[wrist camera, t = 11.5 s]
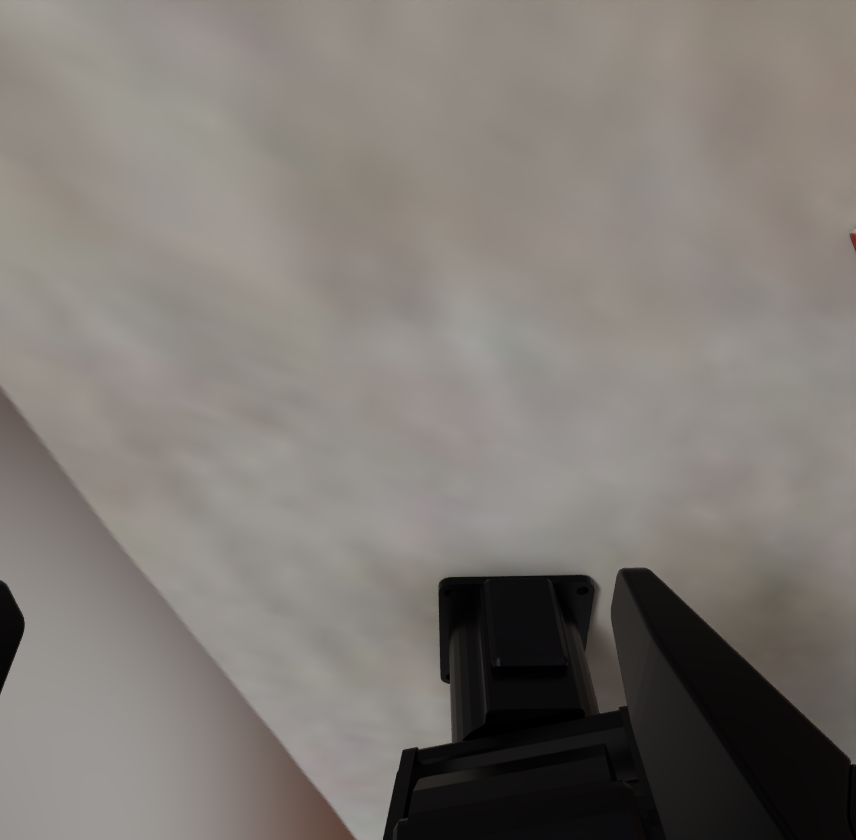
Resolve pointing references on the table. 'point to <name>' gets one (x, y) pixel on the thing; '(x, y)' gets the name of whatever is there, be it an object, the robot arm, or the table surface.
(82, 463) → the table surface
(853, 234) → the stack of blocks
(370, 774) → the table surface
